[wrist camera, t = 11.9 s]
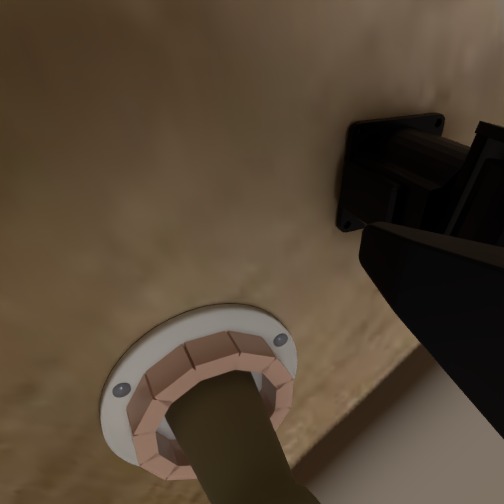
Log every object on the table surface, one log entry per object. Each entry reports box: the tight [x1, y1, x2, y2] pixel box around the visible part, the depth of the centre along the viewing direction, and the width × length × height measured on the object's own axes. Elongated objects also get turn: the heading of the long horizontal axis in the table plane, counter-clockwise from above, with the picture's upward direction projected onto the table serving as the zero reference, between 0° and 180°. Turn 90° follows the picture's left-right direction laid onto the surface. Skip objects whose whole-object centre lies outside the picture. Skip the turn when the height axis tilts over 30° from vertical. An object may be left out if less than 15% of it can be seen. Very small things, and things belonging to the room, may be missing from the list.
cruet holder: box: [99, 304, 297, 480], centre depth 27 cm, size 13×13×3 cm
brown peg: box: [164, 370, 320, 504], centre depth 23 cm, size 6×6×11 cm
